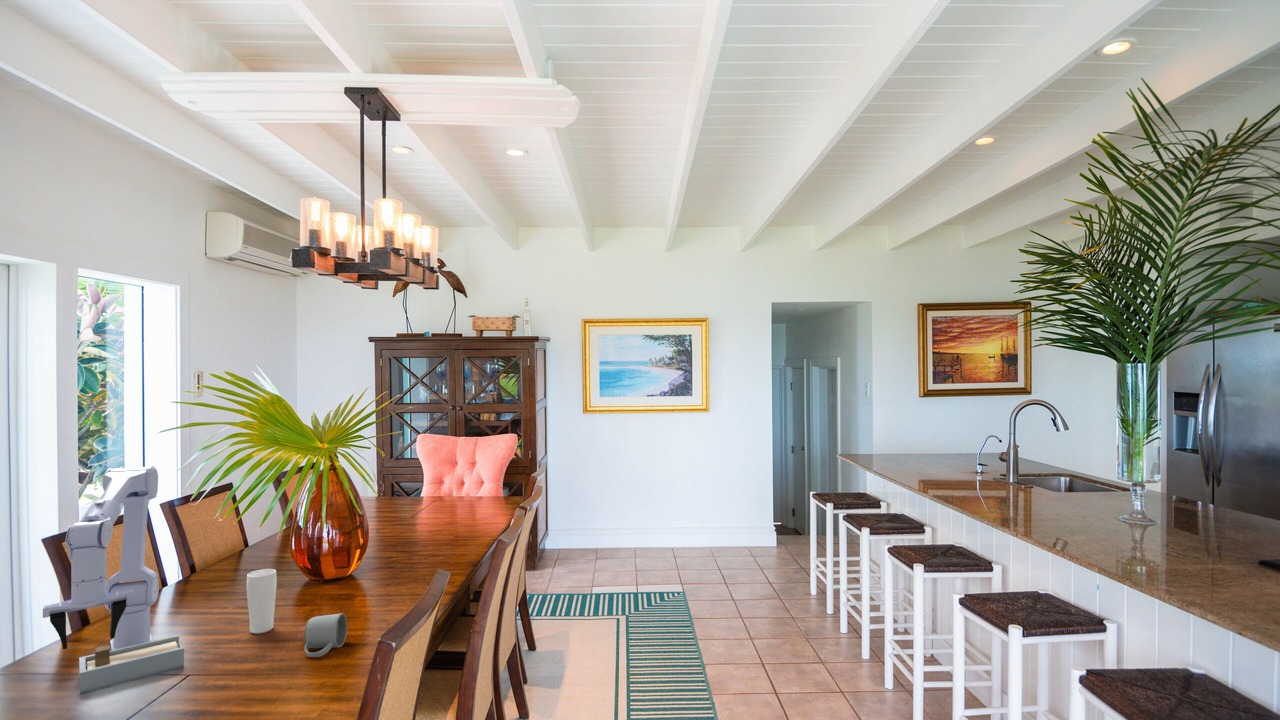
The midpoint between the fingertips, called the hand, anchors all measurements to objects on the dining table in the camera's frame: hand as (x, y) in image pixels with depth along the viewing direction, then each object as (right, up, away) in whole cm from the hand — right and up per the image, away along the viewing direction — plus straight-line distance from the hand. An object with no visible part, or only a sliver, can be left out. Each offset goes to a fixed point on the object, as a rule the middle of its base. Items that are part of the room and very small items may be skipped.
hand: (89, 642), depth 137 cm
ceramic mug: (+41, -10, +20) cm, 46 cm away
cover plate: (+3, -7, +8) cm, 11 cm away
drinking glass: (+19, -11, +31) cm, 38 cm away
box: (+3, -10, +8) cm, 13 cm away
